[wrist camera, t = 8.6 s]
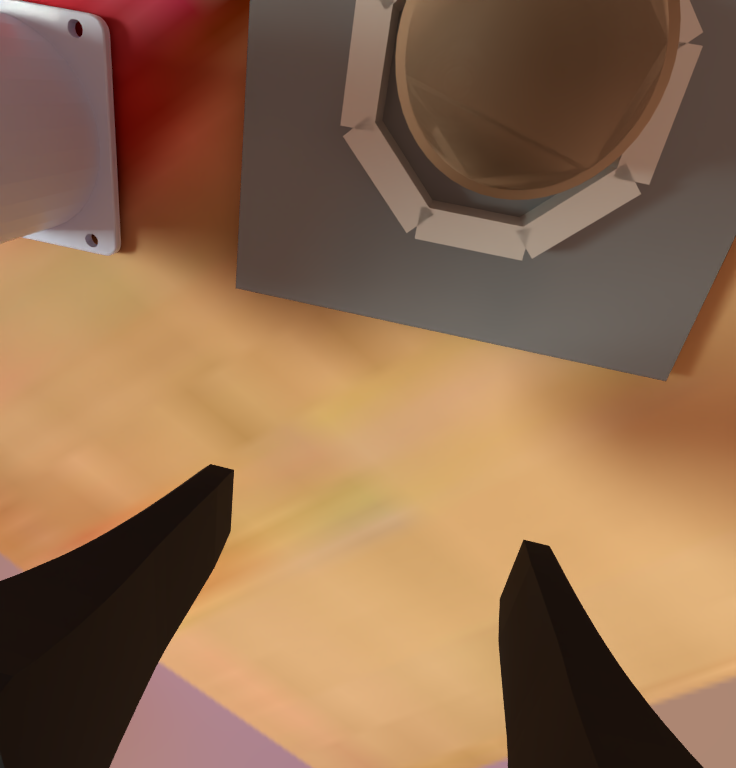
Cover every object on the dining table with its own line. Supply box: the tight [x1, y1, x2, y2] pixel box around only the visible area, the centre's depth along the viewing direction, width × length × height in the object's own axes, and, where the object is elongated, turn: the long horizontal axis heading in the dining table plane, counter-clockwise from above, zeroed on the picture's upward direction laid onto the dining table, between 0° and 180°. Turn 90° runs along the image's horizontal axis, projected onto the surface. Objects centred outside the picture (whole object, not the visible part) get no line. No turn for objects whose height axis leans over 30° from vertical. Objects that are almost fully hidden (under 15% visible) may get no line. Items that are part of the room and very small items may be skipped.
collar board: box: [236, 0, 736, 381], centre depth 16 cm, size 16×16×2 cm
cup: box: [395, 0, 681, 200], centre depth 14 cm, size 5×5×6 cm
